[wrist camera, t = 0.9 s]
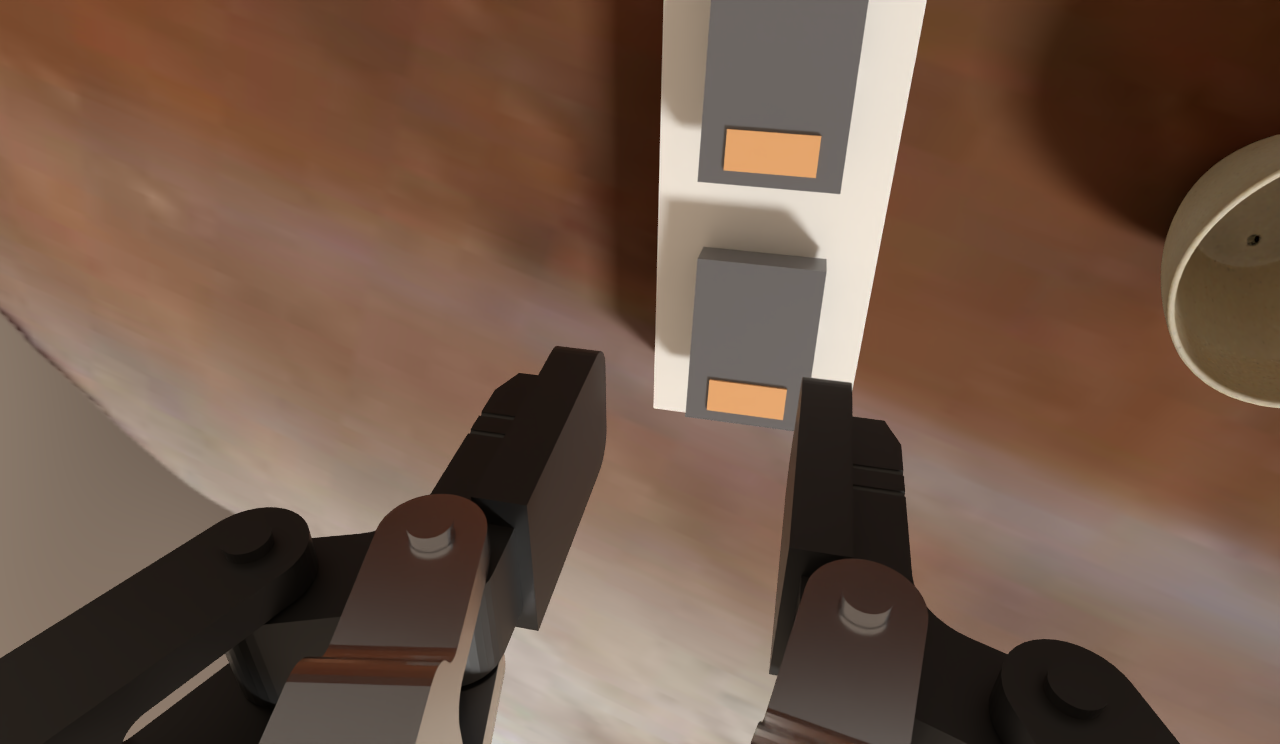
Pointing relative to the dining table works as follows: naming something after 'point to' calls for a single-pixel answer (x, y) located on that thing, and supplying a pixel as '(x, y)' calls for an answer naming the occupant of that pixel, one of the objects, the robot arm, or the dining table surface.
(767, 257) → the block
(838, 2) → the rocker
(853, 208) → the power strip
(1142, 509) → the dining table surface
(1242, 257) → the flower pot
